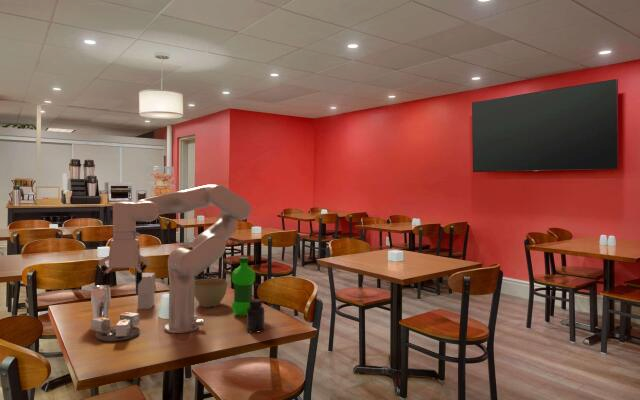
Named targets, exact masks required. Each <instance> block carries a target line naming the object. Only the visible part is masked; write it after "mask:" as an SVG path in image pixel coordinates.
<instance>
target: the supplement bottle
mask: <svg viewBox="0 0 640 400" xmlns="http://www.w3.org/2000/svg"><path fill="white" fill-rule="evenodd" d="M249 305H250V307H248V309H247V316H246V331H247V330H248V331H251V332H257V331H262V330H264V331H265V308H264V306H263V300H262V299H260V298H252V300H250V304H249ZM248 331H247V332H248ZM262 332H263V331H262Z"/></svg>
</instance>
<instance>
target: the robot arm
mask: <svg viewBox="0 0 640 400" xmlns="http://www.w3.org/2000/svg"><path fill="white" fill-rule="evenodd" d="M208 207H217V208H218V209H219V217H218V220H216V222H214V223H213V224H212V225H211V226H209V227H208V228H207V229H205V230H204V231H202V232H201V233H200V234H198V235H196V237H194V238H193V240H192V244H191V245H192V249H189V248H185V247H177V248H175V249H173V250H172V251H171V252H170V253H169V255H168V259H167V269H168V279H169V280H168V281H169V282H168V283H169V285H168V286H169V289H168V291H169V292H168V322H167V323H166V324H165V325H164V330H165V331H166V332H167V333H171V334H185V333H191V332H194V331H196V330H197V329H198V328H199V327H200V326H201V327H202V326H203V327H204V326H205V320H204V319H201V318H200V319H199V318H197V316H198V315H197V314H196V315H195V295H194V292H195V281H196V280H195V276H198V275H199V274H201V273H202V272H204V271H205V270H207V269H208V268H209V267H210V266H212V265H214V263H215V262H217V261H218V260H219V259H220V258H221V257H222V256H223V255H224V254H225V252H226V247H227V246H226V245H227V244H226V241H227V240H229V239H230V238H231V237H232V236H233V235H234V233H235V232H236V228H237V224H238V221H244V220H246V219H248V218H249V217H250V216H251V213H252V206H251V203H250V202H249V200H247V199H245V198H243V197H242V196H240V195H239V194H237V193H235V192H234V191H232V190H230V189H229V188H228V187H225V186H223V185H221V184H206V185H201V186H197V187H193V188H188V189H184V190H183V189H182V190H179V191H173V192H171V193H167V194H166V193H164V194H161V195H157V196H152V197H151V196H150V197H147V198H143V199H139V200H137V201H135V202H132V201H116V202H114V203H113V204H112V239H111V240H110V244H109V251H108V256H106V257H104V258H101V259H100V260H98V265H99V266H100V267H101V269H102V270H103V271H104V273H105V274H106V282H107V285H111V284H112V283H113V272H112V270H113V269H128V268H129V269H131V268H132V269H133V268H134V269H135V270H136V271H137V272H136V284H139V283H140V281H142V273H143V271H144V270H146V269H147V267H148V265H149V264H150V261H151V260H150V258H148V257H145V256H143V255H141V248H140V243H139V239H138V238H137V237H141V233H140V232H137V229H136V228H137V224H136V222H147V223H149V222H153V221H155V220H156V219H158V217H159V216H160V215H165V214H183V213H189V212H192V211H196V210H198V209H199V210H200V209H204V208H208ZM107 261H108V266H107V265H106V264H105V262H107ZM141 261H142V262H144V263H143V265H142V266H141Z"/></svg>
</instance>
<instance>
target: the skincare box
mask: <svg viewBox="0 0 640 400" xmlns="http://www.w3.org/2000/svg"><path fill="white" fill-rule="evenodd" d="M155 281H156V273H155V272H142V281H140V283H139V284H138V285H137V309H141V310H146V309H147V310H149V309H152V308H153V306H154V304H155V290H156V289H155V288H156V287H155V284H156V282H155Z"/></svg>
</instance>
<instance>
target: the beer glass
mask: <svg viewBox="0 0 640 400" xmlns="http://www.w3.org/2000/svg"><path fill="white" fill-rule="evenodd" d="M90 293H91V294H90V295H91V297H90V303H91V309H92V313H93V314H92V315H93V317H92V318H96V317H99V316H100V317H104V318H108V319H109V309H110V306H111V286H110V285H109V284H104V285H103V284H100V285H94V286H92V287H91V292H90Z"/></svg>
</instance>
